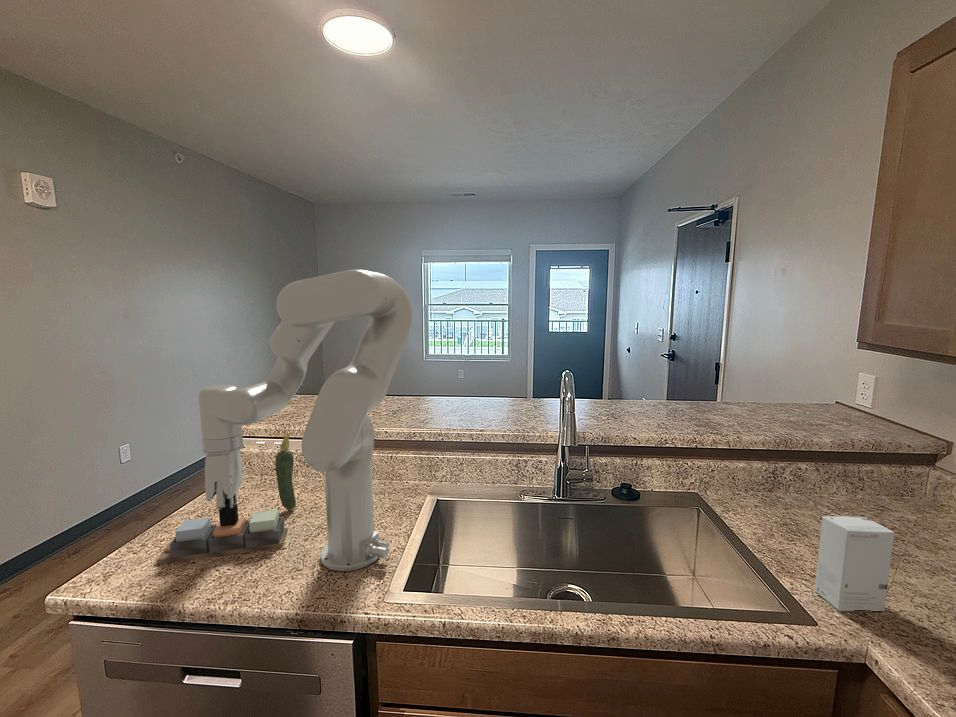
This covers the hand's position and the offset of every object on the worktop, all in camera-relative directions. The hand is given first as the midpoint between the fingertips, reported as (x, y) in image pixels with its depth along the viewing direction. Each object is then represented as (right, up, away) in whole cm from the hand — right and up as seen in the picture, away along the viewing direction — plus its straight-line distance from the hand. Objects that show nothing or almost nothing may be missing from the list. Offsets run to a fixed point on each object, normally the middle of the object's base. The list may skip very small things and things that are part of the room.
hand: (229, 523), depth 95 cm
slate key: (-7, -3, -1) cm, 8 cm away
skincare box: (+121, -8, -17) cm, 123 cm away
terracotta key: (0, -4, 0) cm, 4 cm away
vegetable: (+5, -3, +17) cm, 18 cm away
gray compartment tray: (0, -5, +1) cm, 5 cm away
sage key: (+7, -3, +2) cm, 8 cm away
